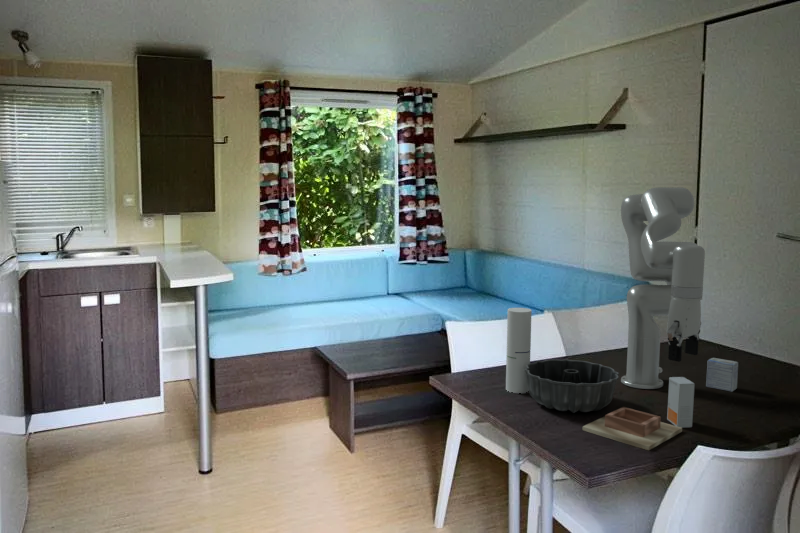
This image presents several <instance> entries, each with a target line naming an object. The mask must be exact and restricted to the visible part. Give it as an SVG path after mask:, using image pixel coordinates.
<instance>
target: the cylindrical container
mask: <svg viewBox="0 0 800 533" xmlns="http://www.w3.org/2000/svg"><path fill="white" fill-rule="evenodd" d="M532 312H533V310H532V309H530V308H526V307H509V308H508V309H507V319H506V320H507V321H506V322H507V323H506V324H507V326H506V329H507V330H506V360H505V361H506V367H505V368H506V369H505V390H507V391H506V392H508V391H509V393H511V392H513V393H512V394H519V393H521V394H527V393H529V392H528V385H527V377H526V372H525V371H524V369H525V368H526V366H527V365H528V364H531V346H532V343H531V342H532V315H533V314H532ZM526 392H527V393H526Z"/></svg>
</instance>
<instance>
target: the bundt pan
mask: <svg viewBox="0 0 800 533" xmlns="http://www.w3.org/2000/svg"><path fill="white" fill-rule="evenodd" d="M524 371H525V372H526V377H527V385H528V391H529V392H528V393H529V395H530V396H531V398H532V399H533V400H534V401H536V402H537V403H538V404H539V405H542V406H545V408H547V409H548V410H553V409H555V410H556V411H560V412H567V411H570V412H571V413H572V414H574V413H577V412H578V411H579V412H580V413H588V412H592V411H593V412H599V411H601V410H602V409H603V408H605V407H607V406H608V405H609V404H611V402H612V401H613V398H614V394H615V390H616V386H617V385H616V384H617V381H618V380H619V377H620V373H619V372H618V371H616V370H615V369H614V368H612V367H610V366H606V365H603V364H602V363H601V364H600V363H593V362H590V361H586V360H578V359H577V360H574V359H573V360H572V359H567V358H566V359H545V360H542V361H541V360H538V361H537V360H536V361H535V362H532V363H531V362H530V364H528V365H527V366H526V368H525V369H524Z"/></svg>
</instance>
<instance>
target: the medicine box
mask: <svg viewBox="0 0 800 533" xmlns="http://www.w3.org/2000/svg"><path fill="white" fill-rule="evenodd" d="M706 366H707V368H706V379H705V380H706V382H705V387H707V388H712V389H717V390H723V391H727V392H734V391H735V390H736V389H737V388H738V376H739V375H738V372H739V362H738V361H736V360H735V361H734V360H729V359H723V358H716V357H711V358H709V359H708V360H707V364H706Z"/></svg>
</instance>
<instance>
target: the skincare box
mask: <svg viewBox="0 0 800 533" xmlns="http://www.w3.org/2000/svg"><path fill="white" fill-rule="evenodd" d="M694 397H695V383H694V382H693V381H691V380H690V379H687V378H686V377H685V376H672V377H671V376H670V377H669V378H668V397H667V410H666V412H667V413H666V420H667V421H668V422H670V423H671V425H674V426H678V427H681V428H682V429H684V428H692V427H693V417H694V415H693V414H694V399H695V398H694Z"/></svg>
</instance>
